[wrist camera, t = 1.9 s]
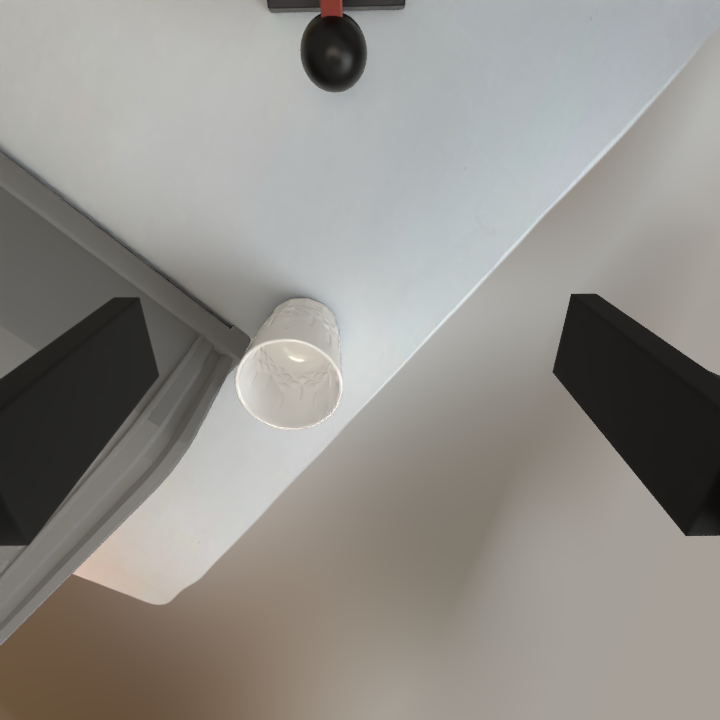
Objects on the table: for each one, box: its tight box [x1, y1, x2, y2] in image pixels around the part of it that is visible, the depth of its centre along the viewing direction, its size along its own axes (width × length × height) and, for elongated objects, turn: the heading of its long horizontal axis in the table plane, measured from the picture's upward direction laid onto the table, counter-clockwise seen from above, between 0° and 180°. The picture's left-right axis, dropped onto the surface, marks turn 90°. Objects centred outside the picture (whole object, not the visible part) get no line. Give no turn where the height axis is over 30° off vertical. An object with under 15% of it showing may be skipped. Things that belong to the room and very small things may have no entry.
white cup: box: [235, 298, 343, 430], centre depth 36 cm, size 8×8×10 cm
